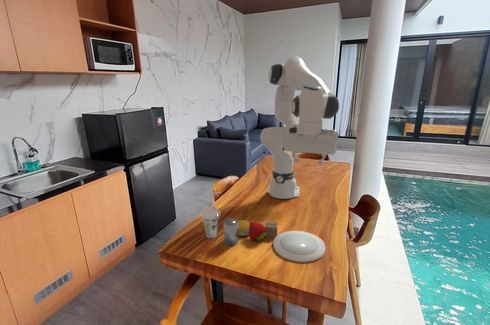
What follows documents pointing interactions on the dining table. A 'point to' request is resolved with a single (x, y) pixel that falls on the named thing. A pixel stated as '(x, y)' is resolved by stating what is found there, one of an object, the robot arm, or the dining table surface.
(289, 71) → the robot arm
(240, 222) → the bread roll
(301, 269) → the dining table surface
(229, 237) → the drinking glass
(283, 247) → the plate
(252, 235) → the strawberry
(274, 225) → the walnut block
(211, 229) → the cup with straw
